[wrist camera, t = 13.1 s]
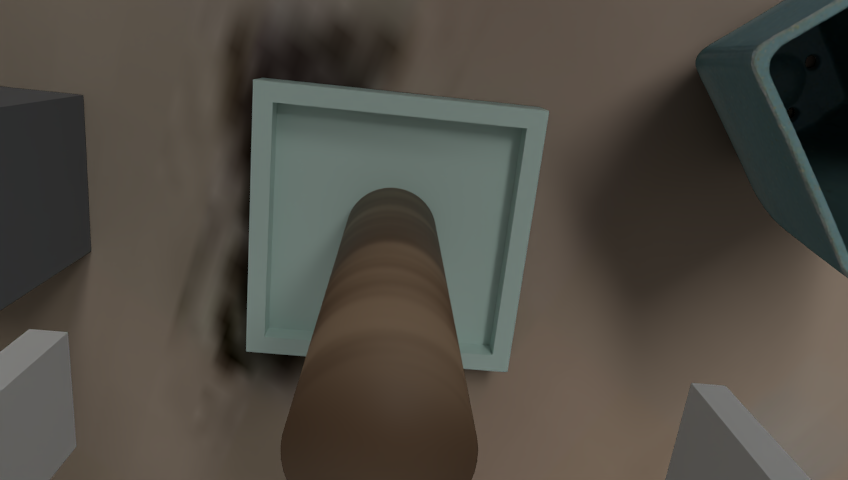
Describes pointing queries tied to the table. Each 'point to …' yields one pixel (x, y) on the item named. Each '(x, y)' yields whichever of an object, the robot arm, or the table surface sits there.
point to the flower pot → (770, 124)
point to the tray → (388, 168)
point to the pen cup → (41, 188)
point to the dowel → (383, 359)
